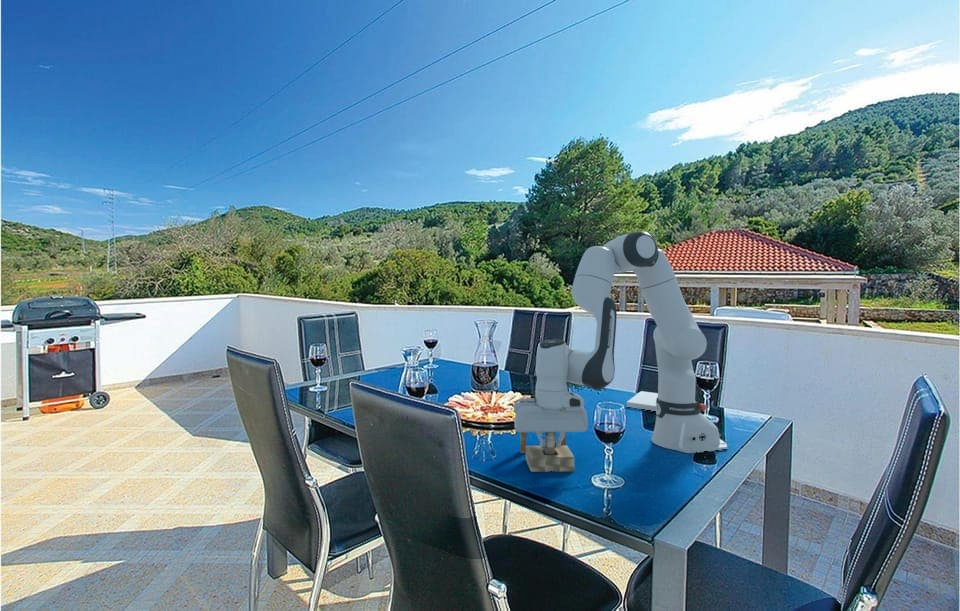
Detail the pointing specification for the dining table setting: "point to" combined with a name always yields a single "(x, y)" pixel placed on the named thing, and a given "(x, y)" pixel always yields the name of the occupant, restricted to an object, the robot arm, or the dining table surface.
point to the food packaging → (643, 401)
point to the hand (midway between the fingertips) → (550, 446)
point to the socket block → (549, 459)
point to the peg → (550, 443)
